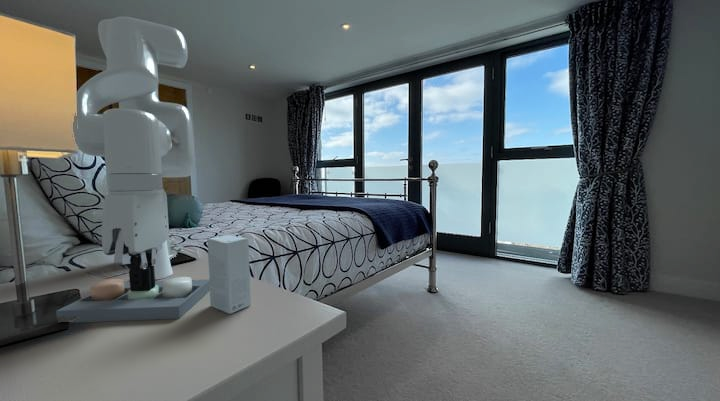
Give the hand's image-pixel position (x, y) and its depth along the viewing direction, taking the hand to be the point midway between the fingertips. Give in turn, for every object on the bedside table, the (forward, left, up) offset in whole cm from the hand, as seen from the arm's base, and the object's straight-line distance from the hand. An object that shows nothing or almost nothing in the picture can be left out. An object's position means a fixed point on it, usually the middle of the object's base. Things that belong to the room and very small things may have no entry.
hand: (143, 289), depth 51 cm
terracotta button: (0, -6, -1) cm, 6 cm away
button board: (0, 0, -3) cm, 3 cm away
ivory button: (0, +6, -1) cm, 6 cm away
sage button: (0, 0, -2) cm, 2 cm away
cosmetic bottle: (-15, -7, -3) cm, 17 cm away
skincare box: (+2, +15, -3) cm, 16 cm away
